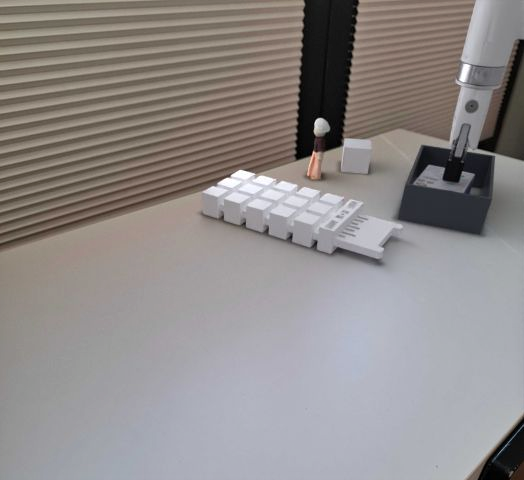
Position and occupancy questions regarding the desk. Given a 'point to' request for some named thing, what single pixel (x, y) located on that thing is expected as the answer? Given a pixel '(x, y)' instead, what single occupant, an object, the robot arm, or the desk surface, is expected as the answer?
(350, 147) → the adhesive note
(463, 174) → the ink cartridge box
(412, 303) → the desk surface
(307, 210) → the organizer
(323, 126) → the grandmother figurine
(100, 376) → the desk surface
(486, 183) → the bin
